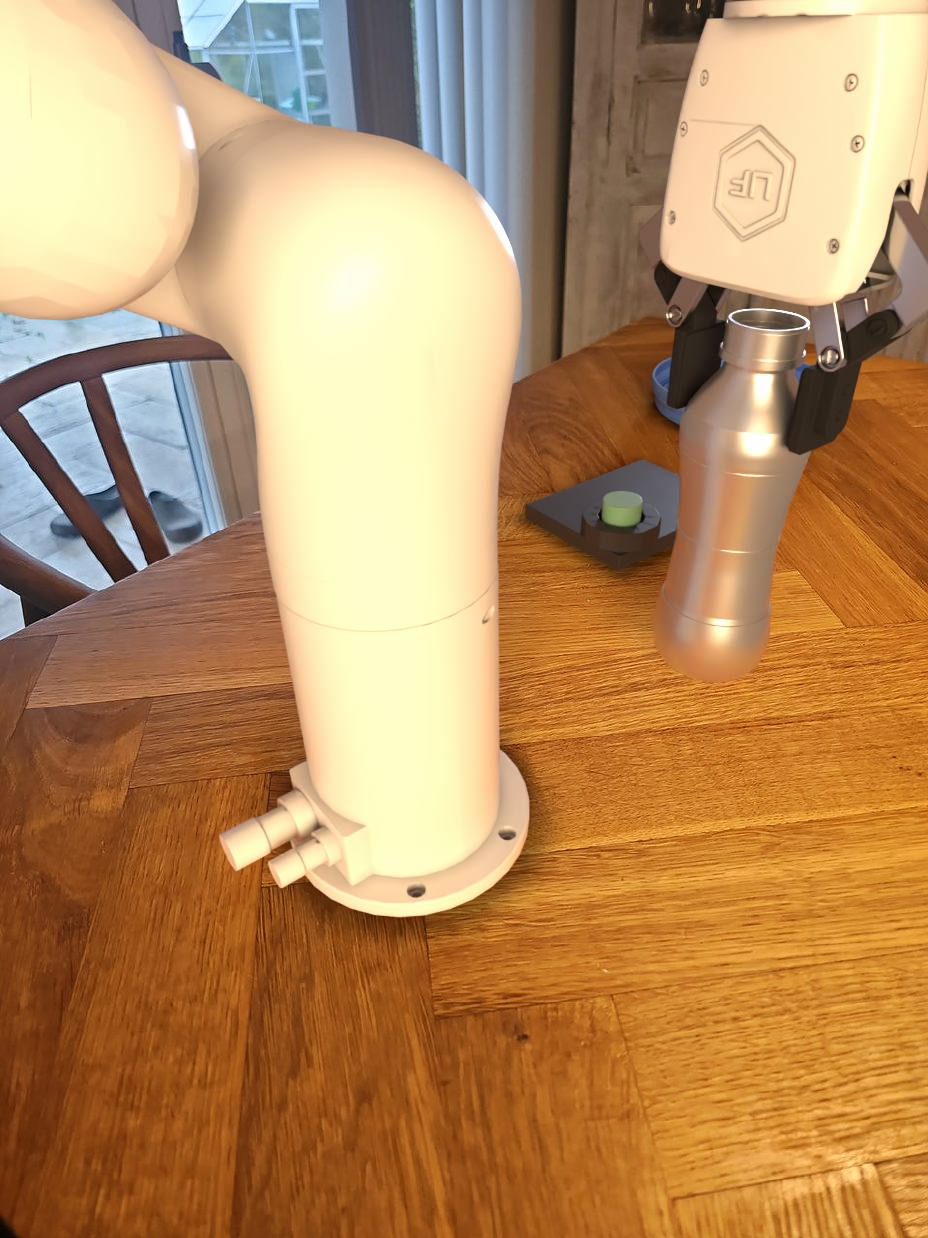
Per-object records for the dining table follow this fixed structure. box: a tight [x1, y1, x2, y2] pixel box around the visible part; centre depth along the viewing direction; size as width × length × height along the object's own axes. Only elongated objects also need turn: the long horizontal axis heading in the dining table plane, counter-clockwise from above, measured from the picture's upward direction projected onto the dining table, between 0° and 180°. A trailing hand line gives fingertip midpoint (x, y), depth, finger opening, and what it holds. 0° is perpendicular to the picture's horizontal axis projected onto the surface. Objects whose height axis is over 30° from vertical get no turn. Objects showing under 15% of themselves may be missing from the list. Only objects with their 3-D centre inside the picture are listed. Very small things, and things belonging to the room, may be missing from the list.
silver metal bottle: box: [651, 308, 812, 683], centre depth 45 cm, size 6×7×20 cm
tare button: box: [602, 491, 643, 527], centre depth 65 cm, size 3×3×2 cm
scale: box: [525, 458, 680, 572], centre depth 70 cm, size 14×11×3 cm
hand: (748, 420), depth 42 cm, fingers closed on silver metal bottle, 6 cm apart
